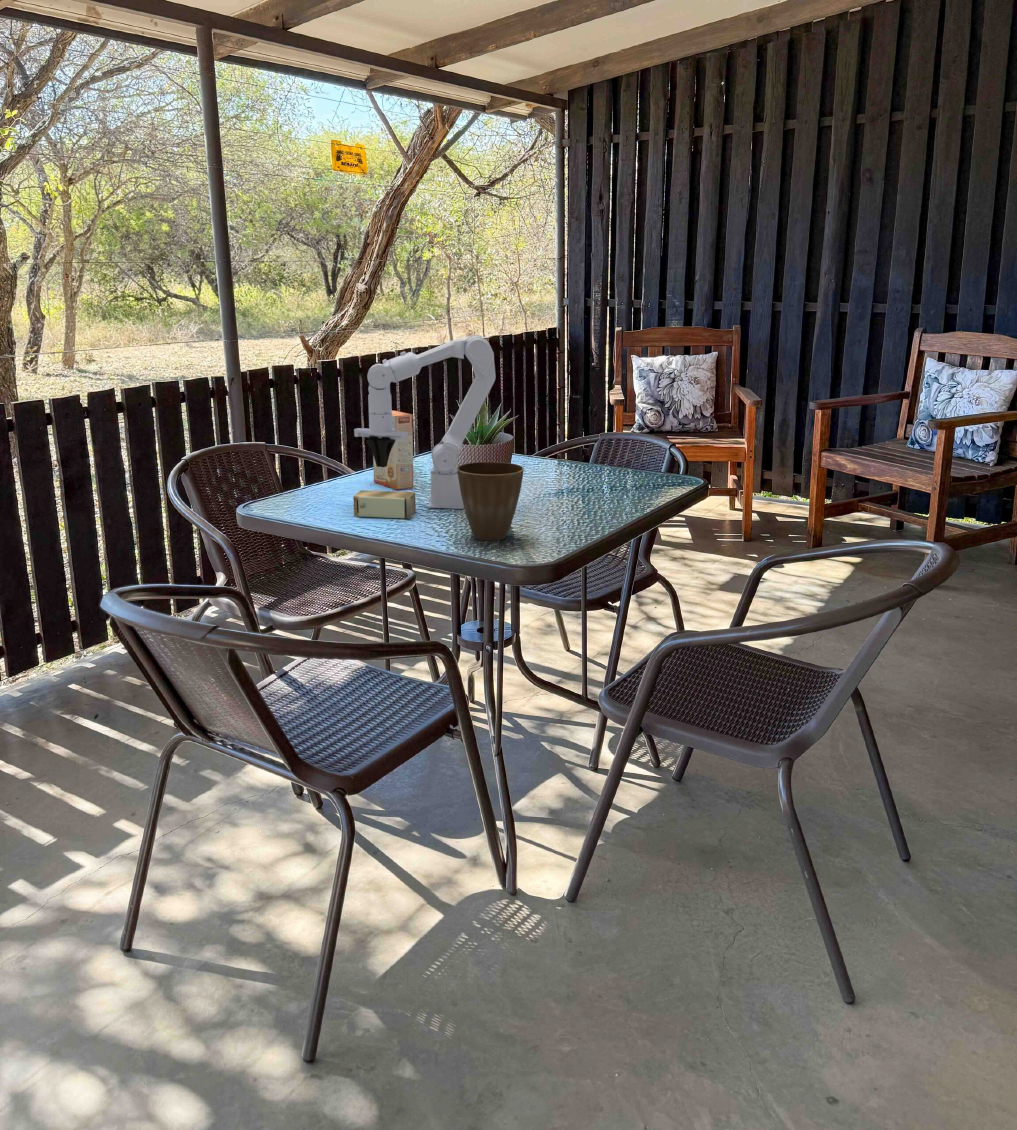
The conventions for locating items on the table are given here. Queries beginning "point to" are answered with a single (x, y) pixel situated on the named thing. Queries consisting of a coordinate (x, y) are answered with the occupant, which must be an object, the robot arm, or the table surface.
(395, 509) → the door
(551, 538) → the table surface
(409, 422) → the cracker box
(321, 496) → the table surface
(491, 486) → the plant pot
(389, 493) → the tan wooden crate
